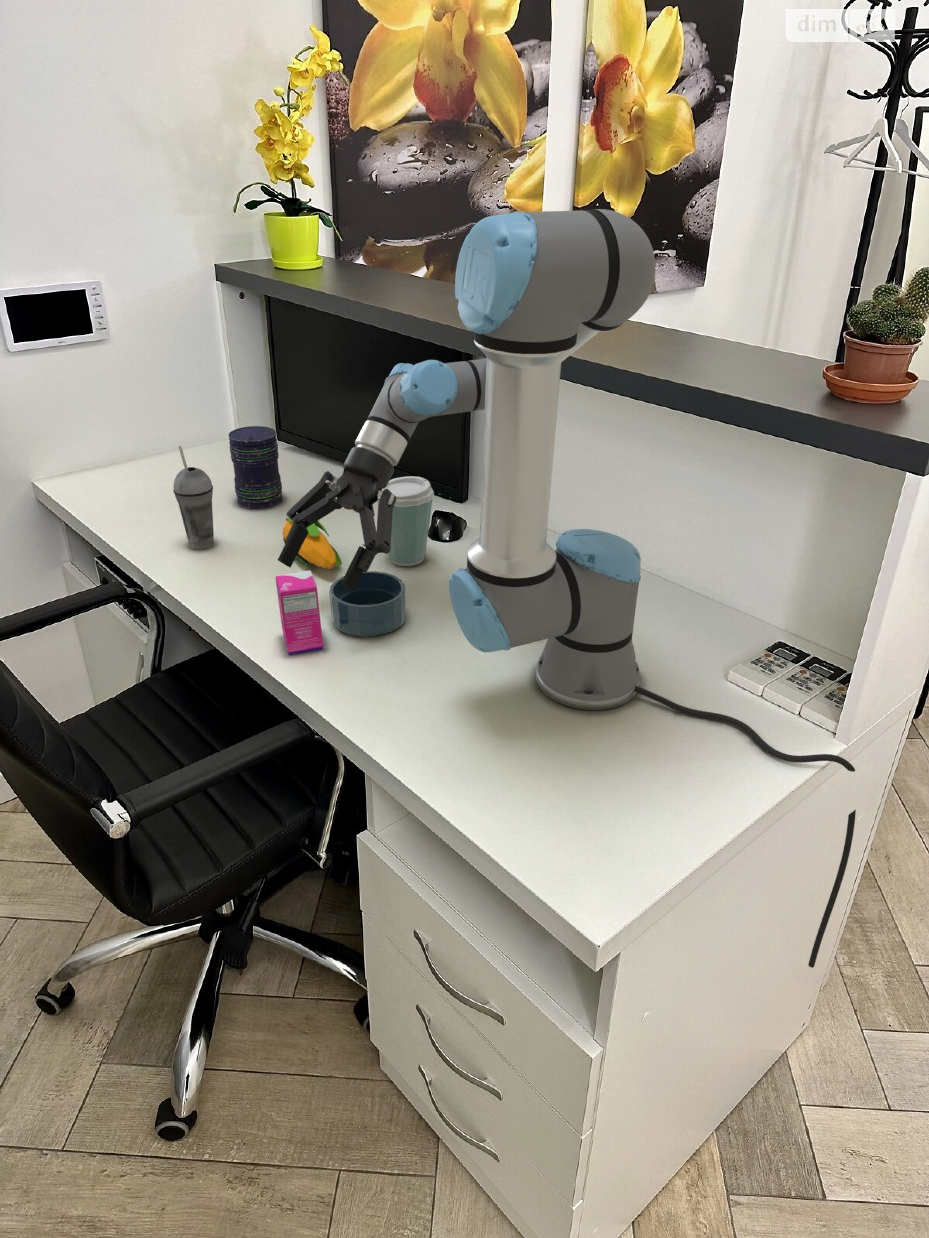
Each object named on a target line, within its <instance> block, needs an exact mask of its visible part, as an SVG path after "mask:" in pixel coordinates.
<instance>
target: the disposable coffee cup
mask: <svg viewBox="0 0 929 1238" xmlns="http://www.w3.org/2000/svg"><path fill="white" fill-rule="evenodd" d="M384 489H388V490H390V491H391V492H392V493H393V494H394V495H395V496H396V497H397V500H396V502H395V505H394V507H393V514H392V532H391V550H390V552H389V553H388V557H389V559H390V562H391V563H392V564H393V565H396V566H401V567H413V566H416V565H419V564H421V563H422V562H423V561H424V559H425V557H426V552H427V545H428V539H429V538H428V536H429V530H430V521H431V512H432V505H433V498H434V497H435V492H434V490H433V488H432V485H431V483H430V481H429V480H428V479H427V478H424V477H421V476H408V475H406V476H400V477H395V478H392V479H390V480H389V482H388V484H387V486H386V487H385V488H384ZM384 489H382V491H383V490H384ZM378 504H379V502H378V501H377V505H378Z"/></svg>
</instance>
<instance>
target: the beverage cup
mask: <svg viewBox="0 0 929 1238" xmlns="http://www.w3.org/2000/svg"><path fill="white" fill-rule="evenodd" d="M178 450H179V453H180V454H179V455H180V457H181V460H182V465H183V467H184V468H182V469H181V470H179V472H178V473H177V474H176V476H175V478H174V479H173V491H172V492H173V494H174V498H175V500H176V502H177V504H178V507H179V512H180V516H181V518H182V523H183V527H184V531H185V534H186V535H185V536H186V538H187V540H188V541H187V542H188V544H189V547H190V549H192V550H198V551H200V550H206V549H207V550H208V549H209V548H212V547H213V546H214V545H215V541H214V540H215V539H214V537H215V533H214V514H213V513H214V512H213V492H214V491H213V490H214V485H213V484H212V480H211V478H210V476H209V475H208V474H207V473H206V471H204V470H203V469H201V468H199V467H195V466H188V465H187V461H186V458H185V455H184V451H183V447H182V445H178Z"/></svg>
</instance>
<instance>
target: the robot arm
mask: <svg viewBox="0 0 929 1238" xmlns="http://www.w3.org/2000/svg"><path fill="white" fill-rule="evenodd" d="M650 241H651V240H650V239H649V237H648V236H647V234H646V233H645V231H644V229H643V228H641V227H640V225H639V224H638V223H637V222H635V221H634V219H632V218H631V217H628V216H626V215H625V214H623V213H620V212H619V211H615V210H611V209H605V208H603V209H602V208H595V209H594V208H593V209H591V208H590V209H584V210H582V209H581V210H551V211H550V210H548V211H543V210H542V211H518V210H516V211H513V212H510V213H504V214H497V215H496V214H495V215H490V216H486V217H484V218H482V219H480V220H479V221H477V222H476V223H475V224H474V225H473V226H472V227H471V229H470V231H469V233H468V234H467V235H466V237H465V239H464V241H463V243H462V245H461V248H460V251H459V255H458V258H457V263H456V268H455V269H456V270H455V277H454V296H455V300H456V301H457V303H458V305H457V312H458V316H459V318H460V320H461V322H462V324H463V325H464V327H466V329H467V330H469V331H470V332H473V343H474V344H475V346H476V347H477V348H478V349H479V350H480V351H481V352H482V353H483V354H484V355H485V357H486V358H479V359H471V360H464V361H454V362H445V363H444V362H442V361H439V360H438V359H437V360H436V359H427V360H424V361H421V362H418V363H415V364H412V363H403V362H400V363H397V364H395V365H394V366H393V368H392V370H391V371H390V373H389V375H388V377H386V378H385V380H384V382H383V386H382V388H381V390H380V393H379V395H378V396H377V399H376V401H375V403H374V405H373V407H372V408H371V411H370V412H369V415H368V417H367V418H366V420H365V422H364V424H363V425H362V428H361V429H360V431H359V433H358V436H357V437H356V439H355V441H354V444H355V446H353V447H352V448H351V449H350V451H349V453H348V455H347V457H346V459H345V461H344V463H343V472H342V474H341V475H340V476H339V477H337V476H336V475H334V474H332V472H330V471H329V470H327V471H324V473H323V474H322V476H321V478H320V479H319V481H318V482H317V483H316V484H315V485H314V486H313V487H312V488H311V489H310V490H309V491H308V492H306V493H305V495H304V496H302V497H301V498H300V499H299V500H298V501H297V502H296V503H295V504H294V505H293V506H292V507H290V509H288V510H287V512H286V516H287V518H288V517H289V518H290V519H291V520H292V521H293V525H292V527H291V529H290V531H289V533H288V535H287V536H286V539H285V541H286V544H285V543H284V546H283V548H282V550H281V552H280V554H279V556H278V558H277V561H278V562H280V563H281V564H283V565H285V566H286V567H288V568H292V565H293V564H294V563H295V560H296V558H297V554H298V552H299V550H300V548H301V546H302V544H303V542H304V540H305V539H306V537H307V535H308V533H309V532H308V530H307V527H309V526H310V525H312V524H313V523H315V522H317V521H320V520H321V519H323V518H324V517H326V516H328V515H329V514H331V513H332V512H334V511H335V510H341V509H345V510H348V511H349V510H351V511H353V512H355V513H357V514H359V520H360V525H361V531H362V537H363V543H362V546H361V545H359V546H358V548H357V550H356V552H355V554H354V555H353V558H352V560H351V562H350V564H349V566H348V568H347V570H346V571H345V574H344V575H343V576H344V578H343V580H342V582H341V585H342V586H344V587H345V588H347V589H348V590H350V591H352V592H354V590H355V588H356V586H357V584H358V582H359V580H360V578H361V576H362V574H363V572H367V571H369V570H370V567H371V565H372V564H373V561H374V559H375V557H376V556H377V555H378V554H386V555H389V552H390V550H391V532H392V514H393V507H394V505H395V502H396V500H397V497H396V496H395V495H394V494H393V493H392V492H391V491H390V490H388V489H384V488H385V487H386V486H387V484H388V482H389V480H391V478H392V477H393V474H394V472H395V468H394V466H397V465H398V464H399V462H400V460H401V458H402V455H403V454H404V452H405V450H406V448H407V447H408V444H409V442H410V439H411V438H412V435H413V434H414V432H415V430H416V428H417V426H418V425H419V423H421V422H422V421H424V420H426V419H428V418H433V417H440V416H446V415H454V414H455V415H456V414H461V413H468V412H469V413H470V412H475V411H483V410H484V411H483V413H484V414H483V442H482V467H481V489H480V491H481V493H480V496H481V497H480V519H479V537H478V538H477V539H476V540H474V541H473V542H472V543H471V544H470V545H469V547H468V549H467V553H466V558H467V559H466V567H465V568H460V567H459V568H458V569H457V570H455V571H453V573H452V574H451V575H450V577H449V581H448V582H449V583H448V586H449V587H448V589H449V596H450V602H451V607H452V610H453V613H454V616H455V618H456V621H457V623H458V626H459V629H460V630H461V632H462V634H463V635H464V637H465V638H466V640H467V641H468V643H469V644H470V645H471V646H472V647H473V648H474V649H475V650H477V651H479V652H481V653H493V652H499V651H503V650H504V651H510V650H512V648H517V647H521V646H525V645H528V644H533V643H537V642H541V641H544V640H547V641H546V643H545V645H544V647H543V650H542V653H541V655H540V657H539V659H538V661H537V664H536V673H535V675H536V676H535V679H536V684H537V686H538V688H539V689H540V691H541V692H542V693H543V694H544V695H545V696H546V697H548V698H549V699H550V700H552V701H554V702H556V703H557V704H560V705H563V706H566V707H570V708H573V709H577V710H584V711H604V710H609V709H610V710H611V709H615V708H618V707H620V706H623V705H625V704H628V703H629V702H631V700H632V699H634V698H635V697H636V695H637V694H639V695H641V696H644V697H646V698H649V699H650V700H653V701H655V702H658V703H659V704H662V705H664V706H665V707H668V708H670V709H672V710H675V711H677V712H680V713H683V714H686V715H688V716H693V717H698V718H704V719H710V720H717V721H721V722H725V723H728V724H730V725H733V726H735V727H736V728H737V727H738V728H739V729H741V730H743V732H745V733H746V734H747V735H749V737H751V739H752V740H754V742H756V744H757V745H758V746H759V747H760V748H761V749H762V750H764V751H765V752H766V753H768V754H769V755H771V756H772V757H775V758H777V759H779V760H782V761H785V762H789V763H800V764H801V763H812V762H813V763H815V762H816V763H817V762H832V763H833V762H834V763H836V764H839V765H841V766H842V767H844V768H845V769H846V770H847V771H849V772H852V773H854V772H856V768H855V767H854V765H853V764H852V763H851V762H849V761H848V760H847V759H845V757H844V758H843V757H842V756H840V755H836V754H830V753H820V754H819V753H817V754H807V755H793V754H788V753H784V752H782V751H779V750H777V749H776V748H773V747H772V746H771V745H769V744H768V743H767V742H766V741H765V740H764V739H763V738H762V737H761V736H760V735H759V734H758V732H756V731H755V730H754V729H753V728H752V727H750V725H748V724H747V723H745V722H743V721H741V720H739V719H738V718H734V717H733V716H729V715H726V714H722V713H716V712H712V711H704V710H699V709H694V708H691V707H687V706H683V705H681V704H678V703H676V702H674V701H671V700H670V699H668V698H666V697H664V696H661V695H659V694H657V693H654V692H652V691H651V690H648V689H645V688H644V687H641V686H640V682H641V673H640V666H639V665H638V664H639V663H638V662H637V659H636V652H635V647H634V644H633V633H634V625H635V617H636V608H637V601H638V593H639V586H640V582H641V580H642V576H641V559H642V558H641V554H640V552H639V550H638V548H637V547H636V546H635V545H634V544H633V543H632V542H630V541H629V540H628V539H626V538H623V537H621V536H619V535H616V534H614V533H611V532H608V531H602V530H598V529H589V528H577V529H576V528H575V529H569V530H566V531H563V532H562V533H561V534H560V535H559V536H558V538H557V540H556V541H555V547H556V549H554V548H553V547H552V545H551V544H549V543H548V542H547V537H548V536H547V535H548V525H549V511H550V499H551V490H552V489H551V488H552V478H553V477H552V475H553V465H554V452H555V441H556V429H557V419H558V405H559V394H560V384H561V382H560V381H561V371H562V370H561V369H562V362H564V361H565V360H566V359H567V358H569V357H570V356H571V355H572V354H573V353H575V352H576V351H577V350H578V349H580V348H581V347H583V346H584V344H586V343H588V342H589V341H590V340H591V339H592V338H593V337H595V336H596V335H597V334H598V333H608V332H612V331H614V330H616V329H618V328H619V327H620V326H622V325H623V324H625V323H626V322H627V321H628V320H630V319H631V318H632V317H633V316H635V314H637V312H639V310H640V309H641V308H642V307H643V306H644V305H645V303H646V301H647V300H648V298H649V296H650V294H651V293H652V289H653V287H654V284H655V279H656V258H655V251H654V249H653V246H652V244H651V242H650ZM382 489H384V490H383V491H382ZM378 502H379V504H378ZM375 503H377V518H376V519H377V520H376V522H375V516H376V515H375V510H374V504H375ZM856 813H857V809H854V810H853V811H851V812H849V814H848V816H847V825H846V833H845V840H844V843H843V850H842V854H841V858H840V862H839V867H838V870H837V874H836V876H835V880H834V883H833V886H832V889H831V892H830V894H829V898H828V900H827V904H826V907H825V909H824V912H823V915H822V918H821V922H820V924H819V927H818V930H817V933H816V936H815V939H814V943H813V946H812V950H811V953H810V956H809V960H808V963H807V965H808V967H809V968H811V969H813V968H815V966H816V965H815V964H816V961H817V958H818V954H819V951H820V947H821V945H822V942H823V938H824V935H825V933H826V929H827V926H828V923H829V921H830V918H831V916H832V912H833V909H834V907H835V904H836V901H837V898H838V895H839V892H840V889H841V886H842V883H843V879H844V877H845V872H846V870H847V865H848V862H849V857H850V854H851V849H852V844H853V839H854V832H855V824H856Z"/></svg>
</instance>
